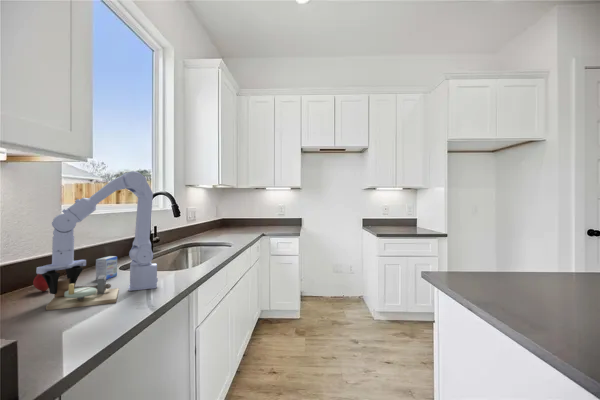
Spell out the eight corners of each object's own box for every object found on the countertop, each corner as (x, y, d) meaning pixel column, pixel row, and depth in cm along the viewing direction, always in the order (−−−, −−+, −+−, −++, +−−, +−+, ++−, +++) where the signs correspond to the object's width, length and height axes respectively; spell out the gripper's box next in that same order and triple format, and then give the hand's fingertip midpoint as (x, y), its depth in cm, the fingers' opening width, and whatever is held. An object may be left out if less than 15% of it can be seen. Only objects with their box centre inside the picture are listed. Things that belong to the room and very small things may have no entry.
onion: (42, 294, 109) (42, 271, 109) (28, 293, 110) (29, 270, 110) (58, 289, 114) (58, 268, 114) (45, 288, 116) (45, 267, 116)
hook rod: (111, 289, 111) (111, 275, 111) (110, 291, 108) (110, 277, 108) (57, 294, 104) (57, 279, 104) (54, 297, 101) (54, 281, 101)
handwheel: (100, 298, 100) (100, 281, 100) (69, 304, 94) (69, 286, 94) (90, 293, 106) (91, 277, 106) (60, 299, 99) (61, 281, 99)
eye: (105, 289, 111) (106, 274, 111) (104, 293, 106) (104, 278, 106) (99, 290, 110) (99, 275, 110) (97, 294, 105) (97, 278, 105)
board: (118, 291, 114) (118, 288, 114) (116, 302, 101) (116, 298, 101) (57, 297, 105) (57, 293, 105) (46, 310, 93) (46, 306, 93)
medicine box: (105, 280, 130) (106, 259, 130) (95, 279, 130) (95, 259, 130) (117, 275, 138) (117, 256, 138) (107, 275, 138) (107, 255, 138)
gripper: (47, 254, 95) (46, 298, 95) (92, 248, 109) (92, 287, 109) (32, 252, 97) (31, 296, 97) (78, 246, 111) (77, 285, 111)
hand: (62, 291), depth 103 cm, fingers closed on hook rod, 5 cm apart
